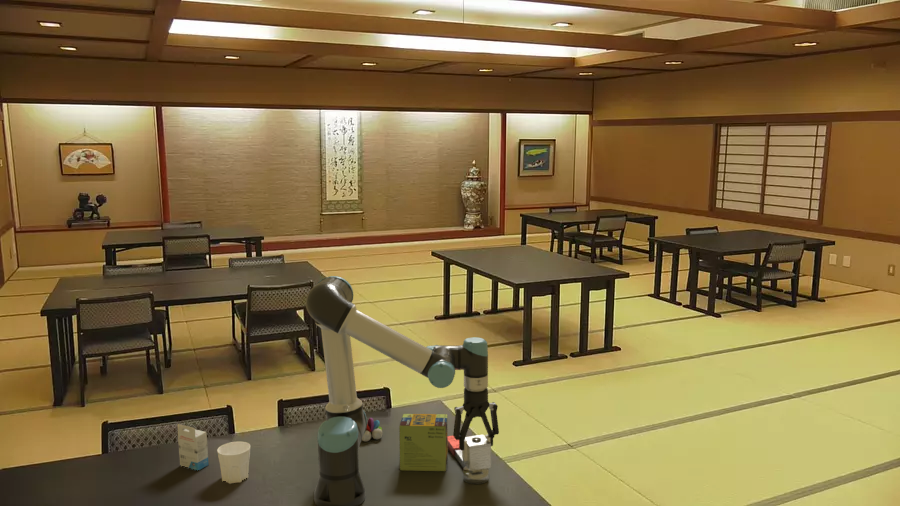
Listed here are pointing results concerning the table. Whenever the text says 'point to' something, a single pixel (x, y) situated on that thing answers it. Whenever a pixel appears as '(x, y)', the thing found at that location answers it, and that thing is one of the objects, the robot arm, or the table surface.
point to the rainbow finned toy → (372, 430)
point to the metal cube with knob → (478, 453)
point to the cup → (234, 461)
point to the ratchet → (468, 476)
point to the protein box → (423, 442)
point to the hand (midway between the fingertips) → (476, 457)
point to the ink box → (192, 447)
